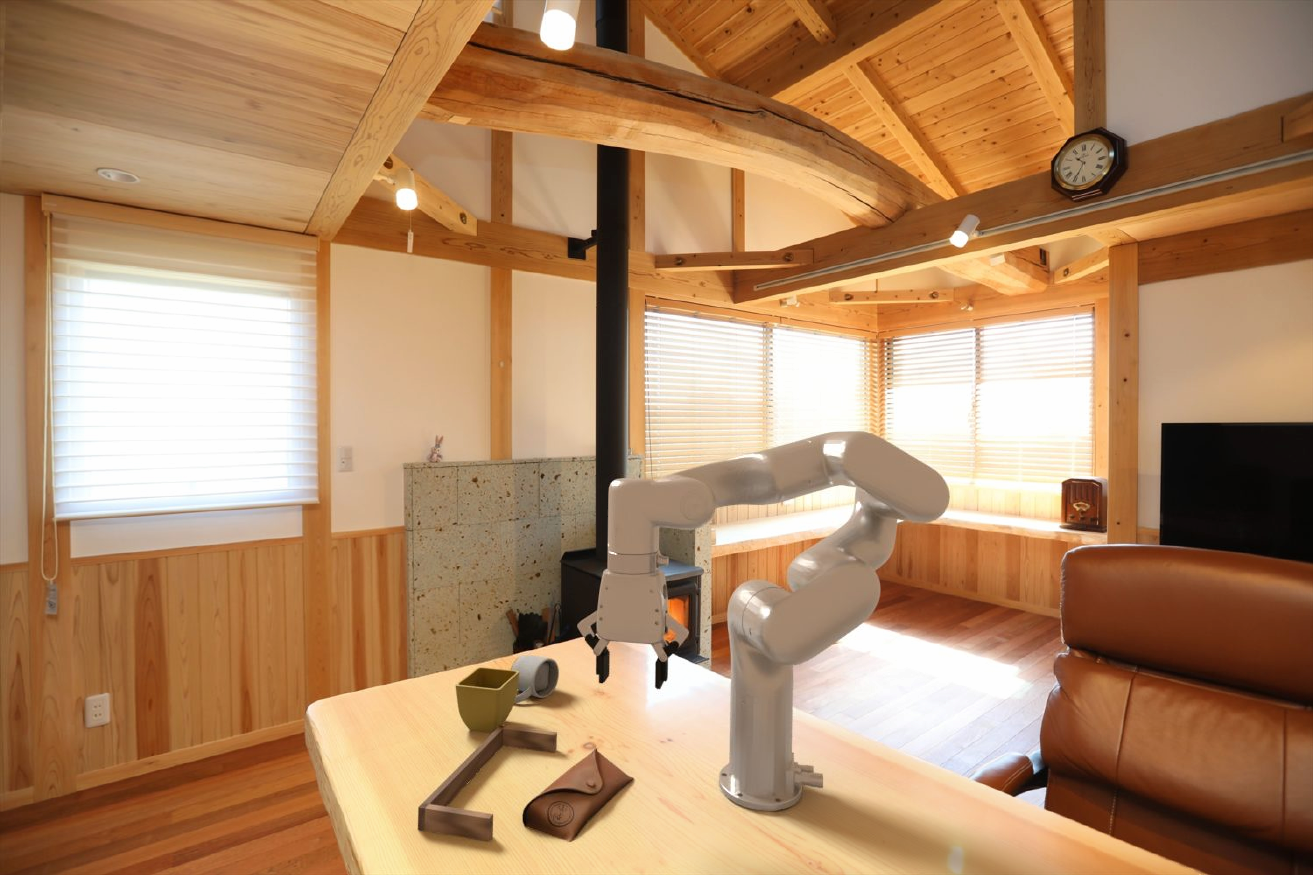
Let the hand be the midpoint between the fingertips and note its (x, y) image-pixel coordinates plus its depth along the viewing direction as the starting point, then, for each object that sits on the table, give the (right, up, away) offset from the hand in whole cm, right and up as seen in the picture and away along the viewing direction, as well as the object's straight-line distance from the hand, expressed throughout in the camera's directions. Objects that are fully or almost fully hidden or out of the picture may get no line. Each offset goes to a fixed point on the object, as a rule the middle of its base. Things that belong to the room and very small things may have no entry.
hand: (631, 681), depth 87 cm
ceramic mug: (-23, -18, +37) cm, 47 cm away
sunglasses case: (-7, -18, +1) cm, 20 cm away
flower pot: (-28, -18, +23) cm, 40 cm away
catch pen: (-21, -18, +4) cm, 28 cm away
